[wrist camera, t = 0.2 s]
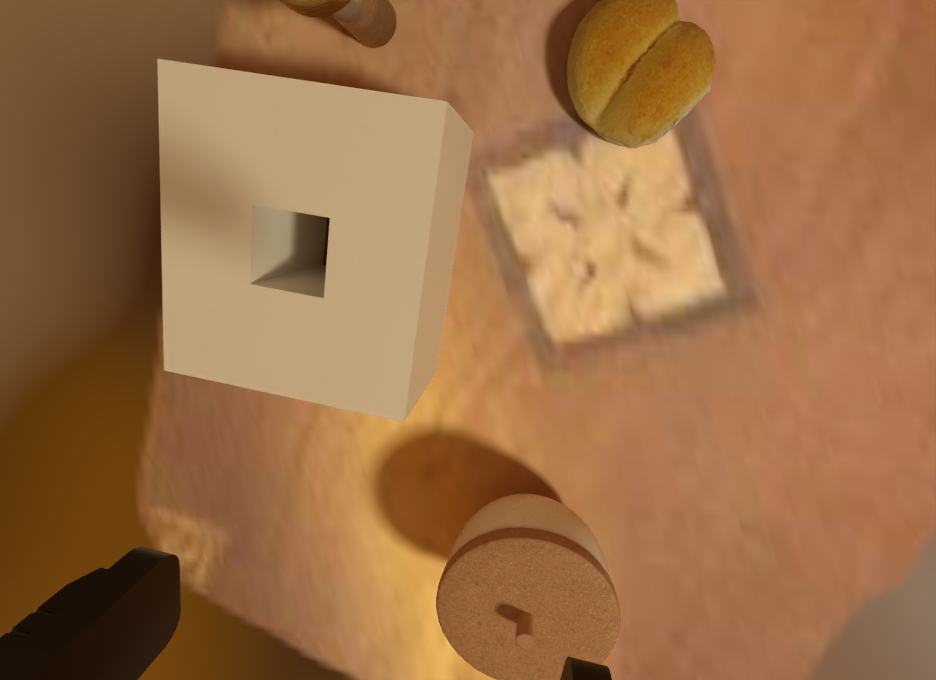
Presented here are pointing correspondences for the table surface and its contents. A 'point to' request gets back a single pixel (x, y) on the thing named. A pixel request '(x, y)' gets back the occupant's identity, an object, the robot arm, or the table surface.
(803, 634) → the table surface
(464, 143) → the pin block
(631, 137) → the bread roll
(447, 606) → the lidded bowl
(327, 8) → the brass-head pin
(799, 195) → the table surface
